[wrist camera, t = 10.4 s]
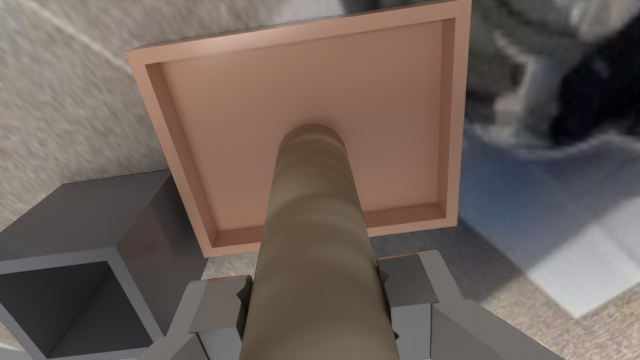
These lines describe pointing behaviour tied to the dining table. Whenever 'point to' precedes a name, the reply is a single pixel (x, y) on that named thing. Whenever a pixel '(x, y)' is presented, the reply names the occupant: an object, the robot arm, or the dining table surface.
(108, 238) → the holder
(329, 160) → the dowel
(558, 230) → the dining table surface
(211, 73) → the tray
